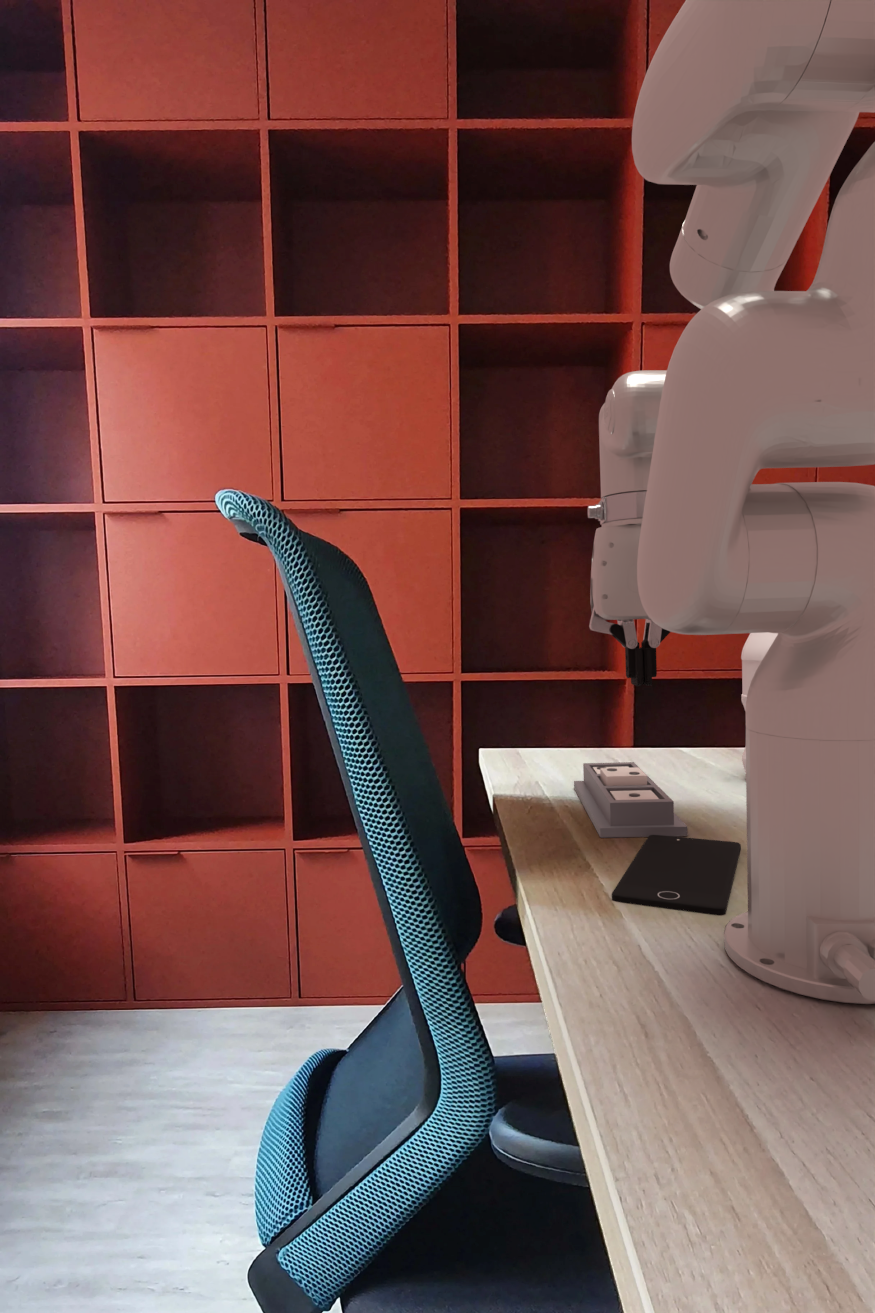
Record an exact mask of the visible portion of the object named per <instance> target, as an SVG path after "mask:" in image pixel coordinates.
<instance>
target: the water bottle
mask: <svg viewBox="0 0 875 1313" xmlns="http://www.w3.org/2000/svg"><path fill="white" fill-rule="evenodd" d="M777 635H778V633H769V632H765V633H749V635H748V637H747V639H746V641H745V643H744V645H743V647H742V650H741V656H740V659H741V679H742V681H741V682H742V685H741V686H742V691H741V692H742V694H740V695H741V696H740V697H741V704H742V705H743V708H744V711H745V713H746V700H747V694H748V690H749V687H750V683H751V681H752V678H753V676H754V674H755V672H756V670H757V668H758V666H759V665H760V663H761V661H762V659H763V658H764V656H765V655H766V653H767V652H768V650H769V648H770V647H771V645H772V643H773V642H774V640H775V638H776V637H777ZM741 757H742V758H741V759H742V760H741V762H742V765H743V769H744V770H745V772H746V745H745V747H744V750H743V752H742V755H741Z"/></svg>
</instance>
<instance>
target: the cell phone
mask: <svg viewBox="0 0 875 1313" xmlns="http://www.w3.org/2000/svg"><path fill="white" fill-rule="evenodd" d="M741 849H742V844H741V842H735V841H730V840H717V839H708V838H695V837H687V836H664V835H649V836H648V837H647V838H646V839H645V841H644V842H643V844H642V846H641V847H640V849H639V850H638V852H637V854H636V855H635V857H634V858H633V860H632V861H631V863H630V864H629V866H628V867H627V869H626V870H625V872H624V873H623V875H622V877H621V878H620V880H619V881H618V883H617V885H616V886H615V887H614V889H613V891H612V893H611V900H612V901H613V902H617V903H621V904H622V903H623V904H629V905H630V904H631V905H638V906H644V907H645V906H646V907H652V908H653V907H654V908H660V909H668V910H673V911H674V910H677V911H682V912H683V911H684V912H689V913H696V914H697V913H698V914H706V915H715V916H725V915H726V913H727V909H728V905H729V901H730V897H731V893H732V888H733V884H734V879H735V877H736V876H735V875H736V872H737V868H738V862H739V860H740V854H741V851H742V850H741Z"/></svg>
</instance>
